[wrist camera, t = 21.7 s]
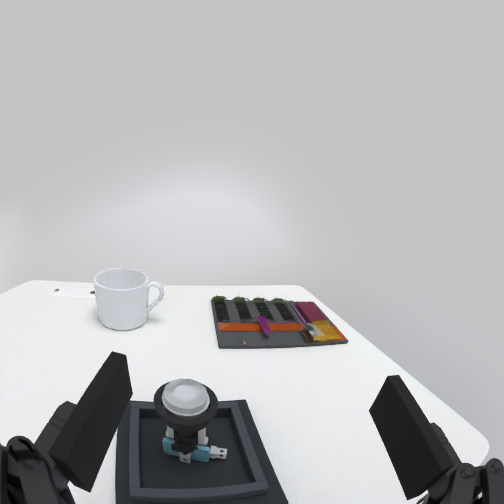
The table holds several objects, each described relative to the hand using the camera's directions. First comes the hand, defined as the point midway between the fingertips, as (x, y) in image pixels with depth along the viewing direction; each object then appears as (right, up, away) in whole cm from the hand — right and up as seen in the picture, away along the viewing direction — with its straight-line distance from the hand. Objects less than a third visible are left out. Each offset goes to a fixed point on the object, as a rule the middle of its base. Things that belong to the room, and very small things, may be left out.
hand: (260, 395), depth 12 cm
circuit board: (+4, -8, +43) cm, 44 cm away
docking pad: (-7, -15, +10) cm, 19 cm away
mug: (-23, -6, +35) cm, 43 cm away
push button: (-6, -14, +10) cm, 18 cm away
